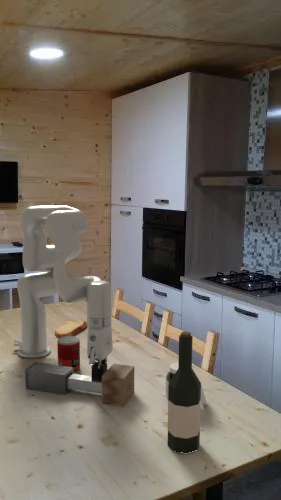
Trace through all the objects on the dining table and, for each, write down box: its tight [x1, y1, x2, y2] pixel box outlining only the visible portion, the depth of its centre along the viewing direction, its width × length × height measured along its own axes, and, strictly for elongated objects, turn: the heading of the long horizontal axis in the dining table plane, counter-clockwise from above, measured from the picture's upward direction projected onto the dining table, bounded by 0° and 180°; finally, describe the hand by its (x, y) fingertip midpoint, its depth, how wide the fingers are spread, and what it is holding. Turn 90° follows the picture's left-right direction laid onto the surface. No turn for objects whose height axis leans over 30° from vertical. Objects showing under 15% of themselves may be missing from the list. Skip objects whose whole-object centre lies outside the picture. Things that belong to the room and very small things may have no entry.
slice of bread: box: [54, 319, 87, 339], centre depth 211 cm, size 18×18×4 cm
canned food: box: [56, 336, 81, 373], centre depth 168 cm, size 8×8×11 cm
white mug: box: [165, 361, 208, 407], centre depth 143 cm, size 12×11×12 cm
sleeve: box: [25, 361, 74, 396], centre depth 153 cm, size 14×6×7 cm, turn 72°
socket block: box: [101, 363, 135, 408], centre depth 146 cm, size 7×10×9 cm
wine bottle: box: [167, 331, 202, 454], centre depth 119 cm, size 8×8×30 cm
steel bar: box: [66, 363, 108, 395], centre depth 149 cm, size 20×4×9 cm, turn 72°
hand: (99, 376), depth 148 cm, fingers closed on steel bar, 3 cm apart
